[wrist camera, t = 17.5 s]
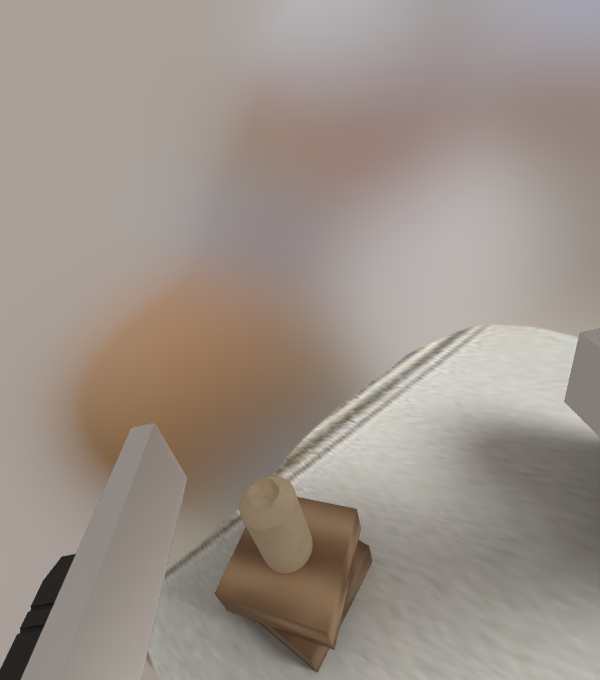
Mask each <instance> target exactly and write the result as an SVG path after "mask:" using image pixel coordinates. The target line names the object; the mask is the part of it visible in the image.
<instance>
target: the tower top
mask: <svg viewBox="0 0 600 680" xmlns="http://www.w3.org/2000/svg"><path fill="white" fill-rule="evenodd" d="M297 498H298V501H299V503H300V506H301V509H302V511H303V514H304V517H305V519H306V522H307V525H308V527H309V530H310V533H311V536H312V542H313V548H312V553H311V555H310V558H309V559H308V561H307V562H306V564H305V565H304V566H303V567H302V568H300V569H299V570H297V571H295V572H293V573H289V574H280V573H277V572H275V571H273V570H272V569H271V568H270V567H269V566H268V565H267V564H266V562H265V560H264V559H263V557H262V555H261V553H260V551H259V549H258V548H257V546H256V544H255V542H254V540H253V538H252V536H251V535H250V533H249V531H248V529H247V527H246V528H245V530H244V532H243V534H242V537H241V539H240V541H239V543H238V545H237V547H236V549H235V552H234V554H233V556H232V558H231V560H230V562H229V564H228V567H227V569H226V571H225V573H224V575H223V577H222V579H221V582H220V584H219V586H218V588H217V590H216V592H215V595H216V596H217V597H218V599H219V600H220V602H221V603H222V604H223V606H224V607H225V608H226V610H227V611H229V612H232V613H235V614H237V615H240V616H243V617H246V618H248V619H251V620H254V621H257V622H259V623H262V624H265V625H267V626H270V627H273V628H276V629H278V630H281V631H284V632H287V633H289V634H292V635H295V636H298V637H300V638H303V639H306V640H309V641H311V642H314V643H317V644H319V645H322V646H325V647H328V648H330V649H333V650H334V649H335V644H336V640H337V635H338V631H339V626H340V622H341V617H342V613H343V608H344V603H345V599H346V594H347V590H348V585H349V581H350V576H351V571H352V567H353V562H354V558H355V553H356V549H357V544H358V540H359V535H360V531H361V527H360V522H359V518H358V513H357V509H354V508H349V507H344V506H339V505H334V504H329V503H324V502H319V501H314V500H309V499H304V498H299V497H297Z"/></svg>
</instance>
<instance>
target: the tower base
mask: <svg viewBox="0 0 600 680" xmlns="http://www.w3.org/2000/svg"><path fill="white" fill-rule="evenodd" d="M371 563H372V558H371V553H370V549H369V546H368V545H366V544H364V543H363V542H361V541H359V540H358V544H357V549H356V553H355V558H354V562H353V567H352V571H351V576H350V581H349V585H348V590H347V594H346V599H345V603H344V608H343V613H342V617H341V622H340V626H341V624H342V622H343V620H344V618H345V616H346V614H347V612H348V610H349V607H350V605H351V603H352V601H353V599H354V597H355V595H356V593H357V591H358V589H359V587H360V585H361V583H362V581H363V579H364V577H365V575H366V573H367V571H368V569H369V567H370V565H371ZM260 624H261V625H262V626H264V627H265V628H266V629H267V630H268V631H269V632H271V633H272V634H273V635H274V636H275V637H276V638H278V639H279V640H280V641H281V642H282V643H283V644H285V645H286V646H287V647H288V648H289V649H291V650H292V651H293V652H294V653H295V654H296V655H298V656H299V657H300V658H301V659H302V660H303V661H305V662H306V663H307V664H308V665H309V666H310V667H312V668H313V669H314V670H315V671H316V672H318V670H319V668H320V666H321V664H322V662H323V660H324V658H325V656H326V654H327V652H328V650H329V648H328V647H325V646H322V645H319V644H317V643H314V642H311V641H309V640H306V639H303V638H300V637H298V636H295V635H292V634H289V633H287V632H284V631H281V630H278V629H276V628H273V627H270V626H267V625H265V624H262V623H260ZM340 626H339V628H340Z"/></svg>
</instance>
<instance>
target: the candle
mask: <svg viewBox="0 0 600 680" xmlns="http://www.w3.org/2000/svg"><path fill="white" fill-rule="evenodd" d="M240 515H241V518H242V520H243V522H244V524H245V525H246V527H247V529H248V531H249V533H250V535H251V536H252V538H253V540H254V542H255V544H256V546H257V548H258V549H259V551H260V553H261V555H262V557H263V559H264V560H265V562H266V564H267V565H268V566H269V567H270V568H271V569H272V570H273V571H275V572H277V573H280V574H289V573H293V572H295V571H297V570H299V569H300V568H302V567H303V566H304V565H305V564H306V562H307V561H308V559H309V558H310V555H311V553H312V548H313V542H312V536H311V533H310V530H309V527H308V525H307V522H306V519H305V517H304V514H303V511H302V509H301V506H300V503H299V501H298V498H297V496H296V493H295V490H294V488H293V486H292V485H291V483H290V482H289V481H287V480H286V479H284V478H281V477H277V476H270V477H266V478H262V479H260V480H258V481H256V482H255V483H253V484H252V485H251V486H250V487H249V488H248V489H247V490H246V491H245V493H244V495H243V497H242V499H241V502H240Z"/></svg>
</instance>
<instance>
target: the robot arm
mask: <svg viewBox="0 0 600 680" xmlns="http://www.w3.org/2000/svg"><path fill="white" fill-rule="evenodd" d="M564 402H565V403H566V404H567V405H568V406H569V407H570V408H571V409H572V410H573V411H574V412H575V413H576V414H577V415H578V416H579V417H580V418H581V419H582V420H583V421H584V422H585V423H586V424H587V425H588V426H589V427H590V428H591V429H592V430H593V431H594V432H595V433H596V434H597V435H598V436H599V437H600V329H595V330H591V331H586V332H581V333H580V334H579V338H578V343H577V347H576V352H575V356H574V360H573V365H572V369H571V374H570V378H569V382H568V387H567V391H566V396H565V400H564ZM186 481H187V477H186V475H185V473H184V472H183V470H182V468H181V467H180V465H179V464H178V462H177V460H176V458H175V457H174V455H173V453H172V452H171V450H170V448H169V447H168V445H167V443H166V442H165V440H164V438H163V437H162V435H161V433H160V432H159V430H158V428H157V427H156V425H155V423H153V424H148V425H144V426H139V427H134V428H131V430H130V432H129V435H128V437H127V439H126V441H125V443H124V446H123V448H122V450H121V453H120V455H119V457H118V459H117V462H116V464H115V466H114V469H113V471H112V473H111V476H110V478H109V480H108V482H107V484H106V487H105V489H104V491H103V494H102V496H101V498H100V500H99V503H98V505H97V507H96V509H95V512H94V514H93V516H92V519H91V521H90V523H89V525H88V528H87V530H86V532H85V535H84V537H83V539H82V541H81V544H80V546H79V548H78V550H77V553H76V554H74V555H68V556H63V557H61V558H60V560H59V561H58V562H57V564H56V565H55V566H54V568H53V569H52V570H51V571H50V573H49V574H48V575H47V576H46V578H45V579H44V580H43V582H42V584H41V586H40V588H39V590H38V592H37V595H36V597H35V599H34V601H33V603H32V605H31V611H30V612H28V613H27V615H26V617H25V619H24V621H23V623H22V626H21V628H20V634H17V636H16V638H15V640H14V642H13V644H12V646H11V648H10V650H9V653H8V654H7V657H6V659H5V661H4V663H3V665H2V667H1V669H0V680H141V678H142V674H143V670H144V666H145V661H146V657H147V652H148V648H149V644H150V639H151V635H152V630H153V626H154V622H155V617H156V613H157V609H158V604H159V600H160V595H161V591H162V587H163V582H164V578H165V573H166V569H167V565H168V560H169V556H170V551H171V547H172V542H173V538H174V533H175V529H176V525H177V520H178V516H179V512H180V507H181V503H182V499H183V494H184V490H185V485H186Z"/></svg>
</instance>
